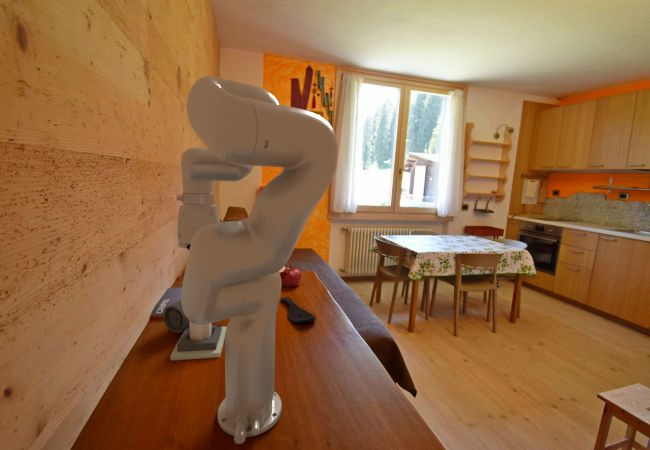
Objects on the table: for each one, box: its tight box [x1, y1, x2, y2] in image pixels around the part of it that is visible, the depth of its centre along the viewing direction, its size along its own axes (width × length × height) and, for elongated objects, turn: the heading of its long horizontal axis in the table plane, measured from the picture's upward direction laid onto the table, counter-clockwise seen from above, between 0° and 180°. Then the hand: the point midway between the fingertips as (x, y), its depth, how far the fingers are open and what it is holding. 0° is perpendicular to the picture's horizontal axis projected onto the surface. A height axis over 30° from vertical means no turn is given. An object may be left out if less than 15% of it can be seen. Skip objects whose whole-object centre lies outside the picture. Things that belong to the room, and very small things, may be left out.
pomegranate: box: [279, 263, 303, 288], centre depth 133 cm, size 10×10×9 cm
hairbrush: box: [280, 296, 316, 324], centre depth 107 cm, size 8×4×25 cm
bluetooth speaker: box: [163, 299, 190, 333], centre depth 97 cm, size 23×9×10 cm, turn 159°
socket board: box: [169, 324, 227, 361], centre depth 84 cm, size 14×12×3 cm
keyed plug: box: [189, 321, 213, 341], centre depth 84 cm, size 5×5×7 cm
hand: (201, 268), depth 81 cm, fingers closed
